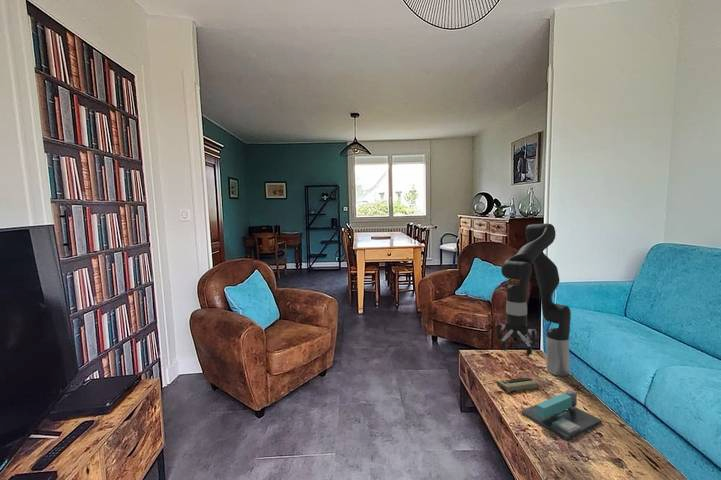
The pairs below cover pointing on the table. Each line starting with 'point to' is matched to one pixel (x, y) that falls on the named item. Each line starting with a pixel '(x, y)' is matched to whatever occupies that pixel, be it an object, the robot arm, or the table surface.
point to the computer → (518, 384)
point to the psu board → (565, 421)
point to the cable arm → (556, 404)
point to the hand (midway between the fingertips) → (516, 352)
